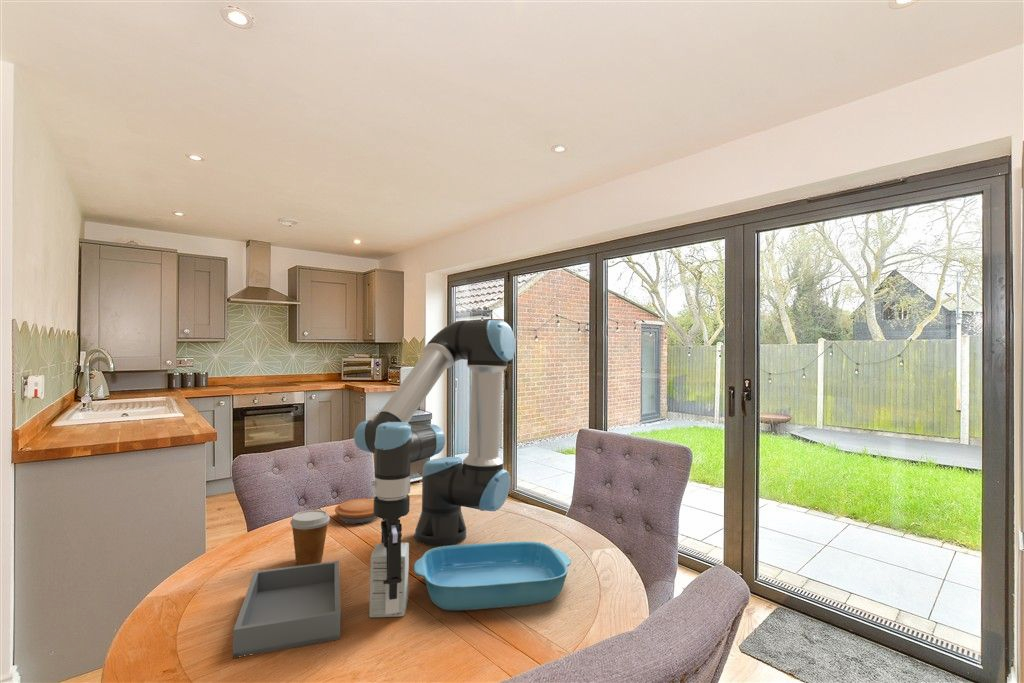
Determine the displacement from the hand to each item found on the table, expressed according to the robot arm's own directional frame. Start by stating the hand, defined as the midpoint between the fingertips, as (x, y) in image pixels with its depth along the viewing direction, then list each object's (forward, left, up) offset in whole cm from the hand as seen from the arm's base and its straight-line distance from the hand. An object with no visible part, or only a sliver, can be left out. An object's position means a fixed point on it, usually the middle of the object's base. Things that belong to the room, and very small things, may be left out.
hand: (389, 601), depth 103 cm
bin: (+19, -4, -1) cm, 20 cm away
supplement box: (0, 0, -2) cm, 2 cm away
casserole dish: (-24, -1, -2) cm, 24 cm away
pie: (+3, -60, -2) cm, 60 cm away
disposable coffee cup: (+17, -30, -2) cm, 34 cm away
